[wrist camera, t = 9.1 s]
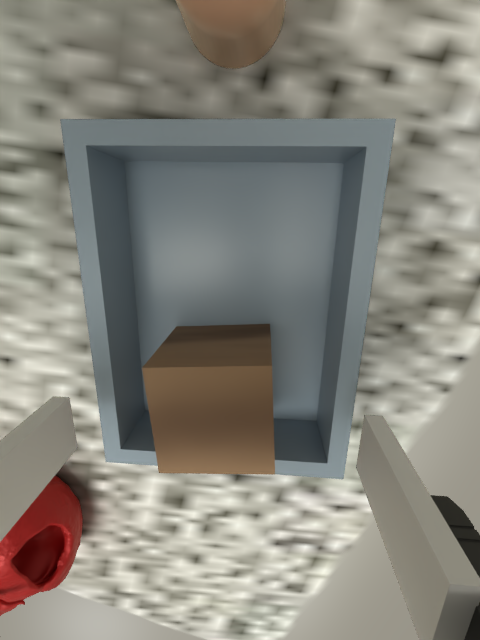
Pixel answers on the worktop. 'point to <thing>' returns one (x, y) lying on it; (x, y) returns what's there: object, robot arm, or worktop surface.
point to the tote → (230, 261)
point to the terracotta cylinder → (233, 28)
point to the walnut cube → (212, 400)
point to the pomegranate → (40, 545)
